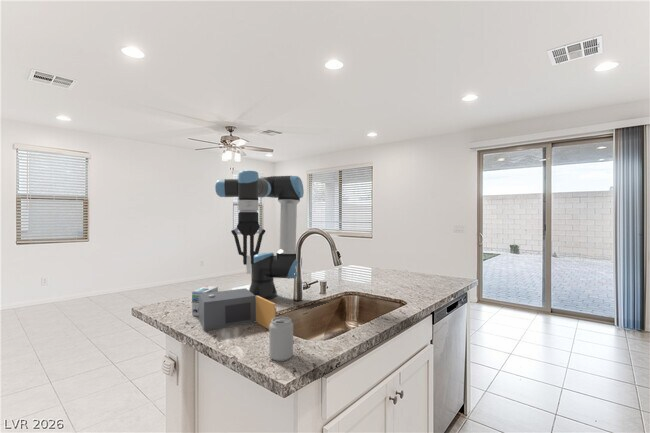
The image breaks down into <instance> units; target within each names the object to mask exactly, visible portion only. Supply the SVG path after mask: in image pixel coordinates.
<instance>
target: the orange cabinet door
mask: <svg viewBox="0 0 650 433" xmlns="http://www.w3.org/2000/svg"><path fill="white" fill-rule="evenodd" d="M276 317H277V307H276V303H275V302H273V301H270V299H268V300H266V299H264V298H262V297H260V296H258V295H256V296H255V323H257V324H259V325H261V326H263V327H264V328H266V329H267V330H269V325H270V323H271V322H272V319H273V318H276Z"/></svg>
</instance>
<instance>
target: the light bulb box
mask: <svg viewBox="0 0 650 433" xmlns="http://www.w3.org/2000/svg"><path fill="white" fill-rule="evenodd" d="M218 290H219V287H218V286H212V285H211V286H209V285H204V286H202V287H200V288H197V289H195V290H193V291H191V316H193V317H194V316H196V317H197V316H198V317H199V294H202V293H211V292H219V291H218Z"/></svg>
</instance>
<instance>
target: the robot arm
mask: <svg viewBox="0 0 650 433" xmlns="http://www.w3.org/2000/svg"><path fill="white" fill-rule="evenodd" d="M214 189H215V194H216V195H217V196H218V197H220V198H237V199H238V201H237V204H238V205H237V209H238V211H239V212H238V213H237V216H238V218H237V220H238V222H237V225H236V227H235V228H233V229H231V231H230V232H231V234H232V236H233V237H234V241H235V245H236V250H237V254H238V255H240V256H242V262H243V265H244V266H245V269H246V270H245V273H246V274H247V275H248V274H249V275H251V281H250V282H251V283H250V285H249V289H248V290H249V291H250V292H251V293H252V294H254V295H255V296H256V295H258V296H260V297H262V298H264V299H266V300H272V299H276V298H277V296H278V293H277V289H276V286H275V282H274V279H287V280H289V279H290V280H291V279H297V278H298V277H297V272H296V269H295V266H297V261H296V250H297V249H296V248H297V218H298V216H297V215H298V214H297V213H298V212H297V211H298V204H299V203H300V202H301V199H302V198H303V197H304V191H305V190H304V185H303V181H302V178H301V177H300V176H299V175H276V176H275V175H270V176H265V177H259V173H258V171H257V170H240V171H239V172H238V177H237V178H232V179H231V178H227V179H226V178H224V179H223V178H221V179H218V180H217V181H216V183H215V186H214ZM259 198H274V199H275V198H276V199H277V202H278V203H279V204H280V215H279V216H280V220H279V221H280V222H279V249H278V250H277V251H276V255H275V254H274V252H261V253H260V249H261V244H262V241H263V236H264V235H265V233H266V230H265V229H264V228H262V227H261V225H260V223H259V212H258V211H259ZM239 232H240V234H241V235H242V247H241V243H240V241H239V240H240V239H239V236H238V234H239ZM257 232H258V233H259V234H258V235H257V240H256V244H255V242H254V241H255V235H256V233H257ZM248 236H249V255H248ZM302 266H303V258H302V257H301V268H302ZM294 273H295V275H294ZM296 277H297V278H296Z"/></svg>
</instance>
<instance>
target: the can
mask: <svg viewBox="0 0 650 433" xmlns="http://www.w3.org/2000/svg"><path fill="white" fill-rule="evenodd" d="M268 331H269V334H268V335H269V337H268V338H269V340H268V341H269V342H268V343H269V346H268V348H269V350H268V351H269V354H268V355H269V357H270V358H271V359H272V360H273V361H275V360H276V361H275V362H284V361H283V360H286V361H288V360H289V358H292V357H293V356H294V323H293V322H292V318H290V317H288V316H276V318H273V319H272V322H271V323H270V325H269V329H268ZM287 359H288V360H287Z"/></svg>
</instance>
